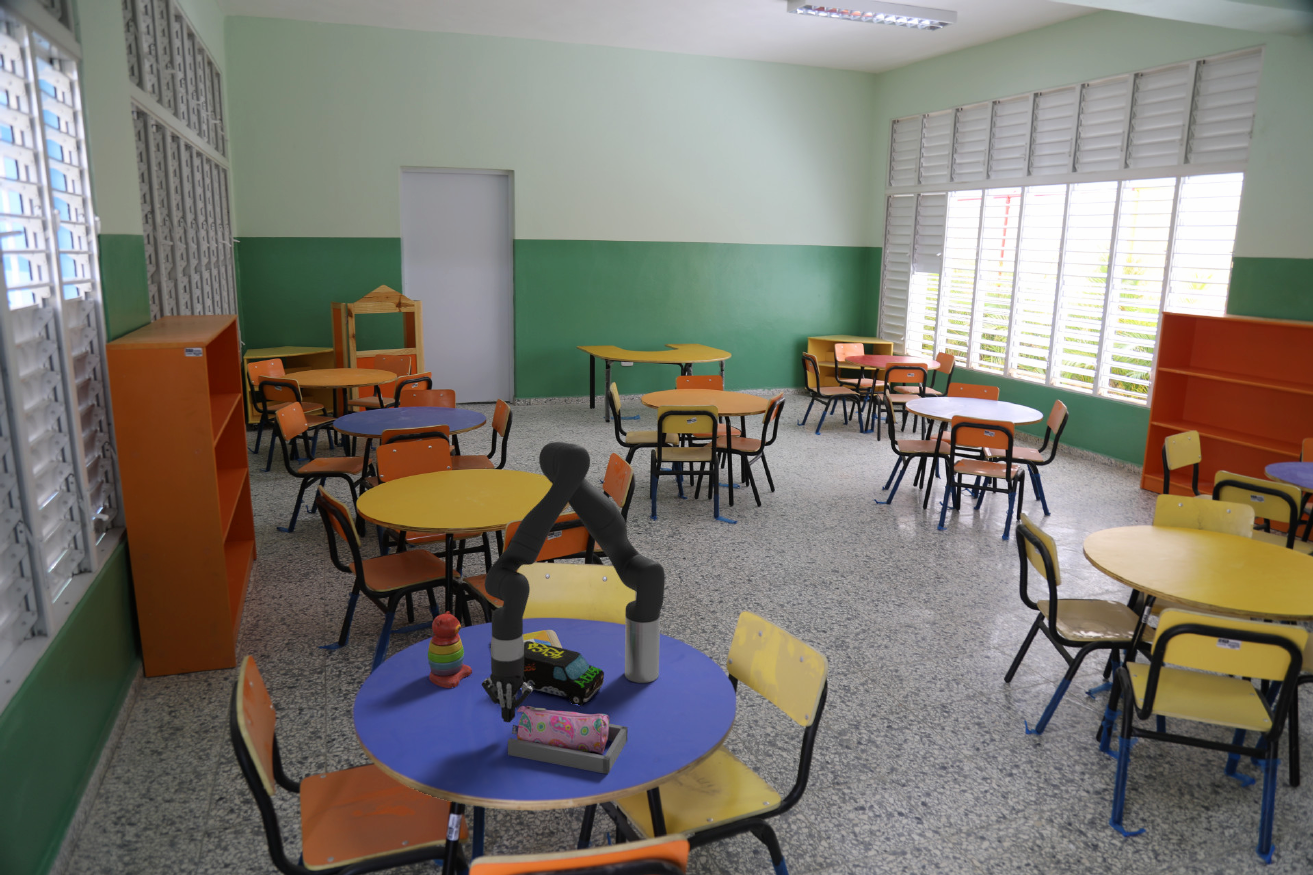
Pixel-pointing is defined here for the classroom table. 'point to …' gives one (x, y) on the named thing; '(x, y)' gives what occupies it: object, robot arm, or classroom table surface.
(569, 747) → the pencil case
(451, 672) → the stacking bear
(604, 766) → the frame
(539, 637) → the wooden puzzle
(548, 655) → the toy van
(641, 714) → the classroom table surface
